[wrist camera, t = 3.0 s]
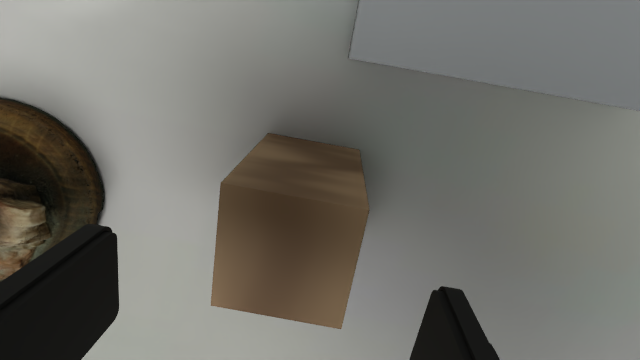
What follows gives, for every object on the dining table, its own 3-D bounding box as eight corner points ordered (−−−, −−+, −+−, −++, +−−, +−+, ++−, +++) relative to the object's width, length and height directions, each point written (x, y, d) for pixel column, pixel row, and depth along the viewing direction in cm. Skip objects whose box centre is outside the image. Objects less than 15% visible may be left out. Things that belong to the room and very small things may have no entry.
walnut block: (359, 149, 19) (369, 209, 12) (341, 231, 21) (340, 328, 14) (268, 133, 19) (220, 183, 12) (258, 215, 21) (210, 305, 14)
